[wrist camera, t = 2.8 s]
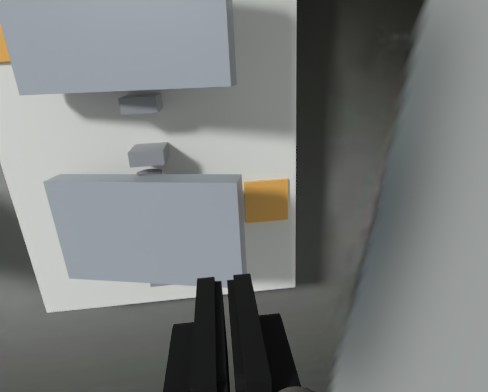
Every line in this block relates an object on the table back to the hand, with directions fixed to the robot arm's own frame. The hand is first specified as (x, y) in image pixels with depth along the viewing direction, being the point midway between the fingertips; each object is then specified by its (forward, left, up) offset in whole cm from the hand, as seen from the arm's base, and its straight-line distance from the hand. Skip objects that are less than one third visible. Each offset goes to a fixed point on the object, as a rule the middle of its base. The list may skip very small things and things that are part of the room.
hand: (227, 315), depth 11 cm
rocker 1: (-9, -3, -7) cm, 12 cm away
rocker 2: (0, -3, -7) cm, 8 cm away
